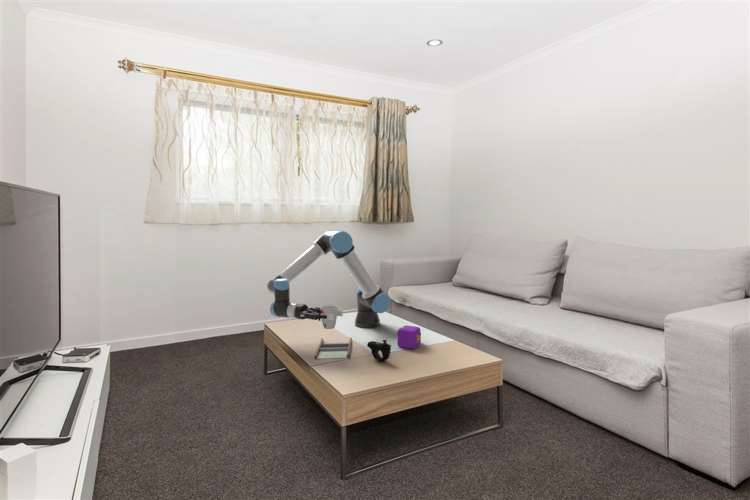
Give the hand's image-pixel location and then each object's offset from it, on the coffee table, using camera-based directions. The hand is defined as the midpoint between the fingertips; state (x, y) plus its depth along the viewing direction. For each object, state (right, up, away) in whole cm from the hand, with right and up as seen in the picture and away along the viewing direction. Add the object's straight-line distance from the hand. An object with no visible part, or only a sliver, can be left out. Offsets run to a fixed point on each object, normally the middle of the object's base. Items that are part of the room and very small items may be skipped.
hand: (337, 315), depth 199 cm
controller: (+20, -19, -10) cm, 29 cm away
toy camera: (+36, -17, +11) cm, 41 cm away
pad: (-2, -19, -1) cm, 19 cm away
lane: (-2, -18, +8) cm, 20 cm away
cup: (-4, -7, +3) cm, 8 cm away
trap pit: (-2, -18, +8) cm, 20 cm away
